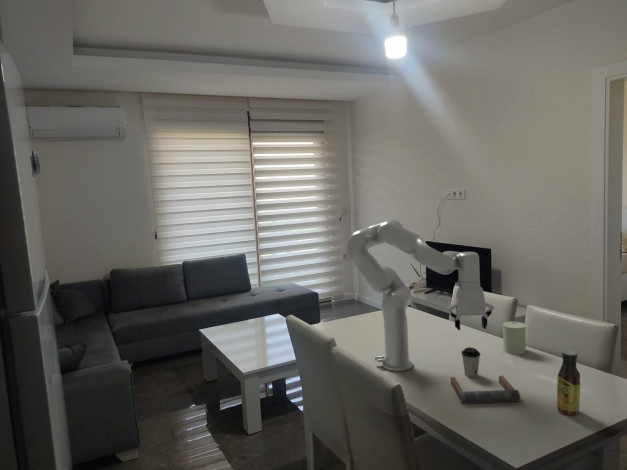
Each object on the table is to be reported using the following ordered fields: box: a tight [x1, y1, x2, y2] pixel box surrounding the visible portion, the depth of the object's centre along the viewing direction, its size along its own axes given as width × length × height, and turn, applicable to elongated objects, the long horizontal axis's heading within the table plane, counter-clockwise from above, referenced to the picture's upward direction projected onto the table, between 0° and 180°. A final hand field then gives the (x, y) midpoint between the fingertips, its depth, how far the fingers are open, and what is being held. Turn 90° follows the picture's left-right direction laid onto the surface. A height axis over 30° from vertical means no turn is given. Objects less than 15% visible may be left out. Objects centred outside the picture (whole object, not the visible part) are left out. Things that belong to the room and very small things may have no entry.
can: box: [502, 321, 527, 355], centre depth 191 cm, size 9×9×12 cm
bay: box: [450, 375, 521, 404], centre depth 155 cm, size 19×16×4 cm
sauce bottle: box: [556, 349, 581, 416], centre depth 139 cm, size 7×6×20 cm
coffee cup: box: [461, 347, 481, 378], centre depth 170 cm, size 7×7×10 cm
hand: (471, 328), depth 168 cm, fingers open, 9 cm apart
